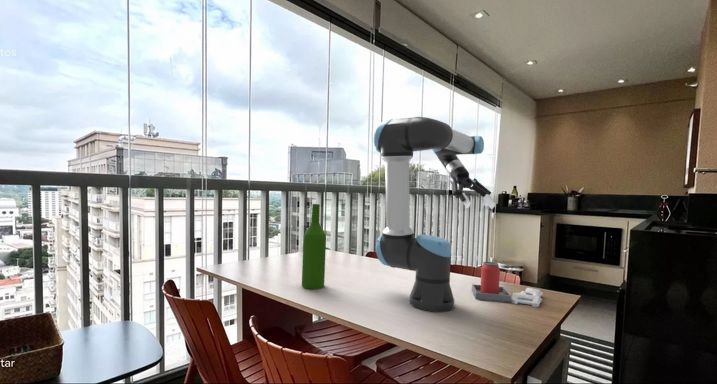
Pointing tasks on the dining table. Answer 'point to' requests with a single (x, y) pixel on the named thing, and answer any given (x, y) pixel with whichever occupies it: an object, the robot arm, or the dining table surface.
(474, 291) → the can tray
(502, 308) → the dining table surface
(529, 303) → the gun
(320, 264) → the wine bottle
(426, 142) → the robot arm
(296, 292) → the dining table surface
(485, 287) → the beer can
